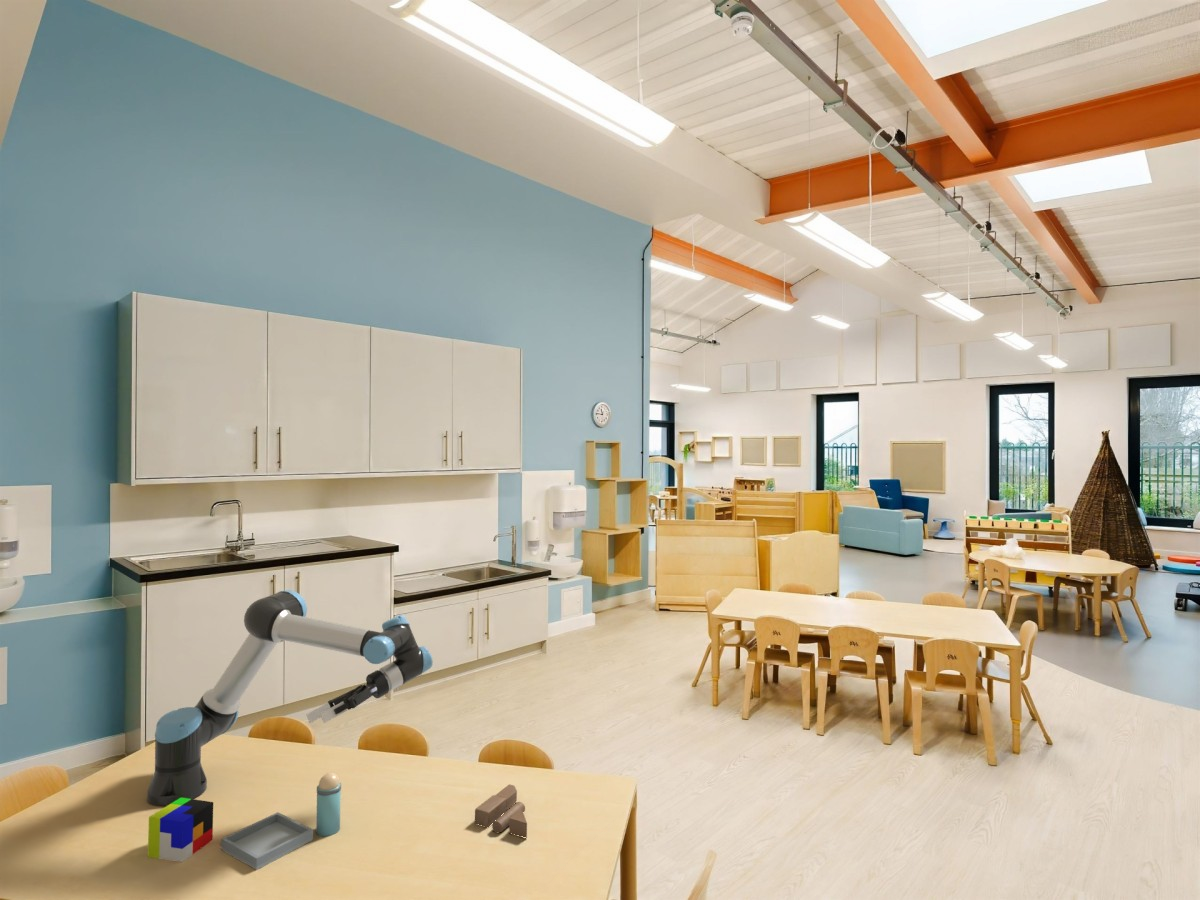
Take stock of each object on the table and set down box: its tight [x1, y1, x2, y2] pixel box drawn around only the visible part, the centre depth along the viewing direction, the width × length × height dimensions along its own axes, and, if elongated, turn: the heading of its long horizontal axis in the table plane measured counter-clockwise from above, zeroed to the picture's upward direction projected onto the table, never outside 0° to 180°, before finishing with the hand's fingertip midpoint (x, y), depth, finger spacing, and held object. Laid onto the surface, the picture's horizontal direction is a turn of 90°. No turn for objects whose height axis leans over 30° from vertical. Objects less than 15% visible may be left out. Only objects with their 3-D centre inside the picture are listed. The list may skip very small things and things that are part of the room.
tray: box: [220, 812, 314, 871], centre depth 177 cm, size 16×16×3 cm
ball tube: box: [315, 772, 342, 837], centre depth 184 cm, size 6×6×15 cm
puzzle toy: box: [147, 798, 214, 863], centre depth 175 cm, size 10×10×10 cm
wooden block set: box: [474, 784, 528, 838], centre depth 193 cm, size 17×6×18 cm
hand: (314, 718), depth 190 cm, fingers open, 13 cm apart
